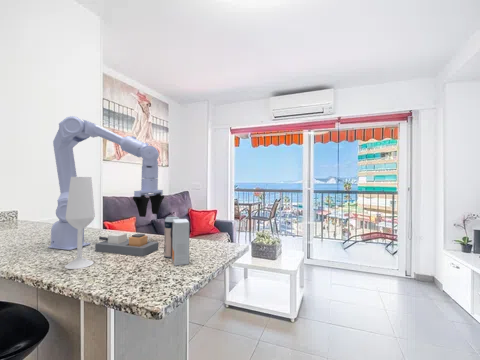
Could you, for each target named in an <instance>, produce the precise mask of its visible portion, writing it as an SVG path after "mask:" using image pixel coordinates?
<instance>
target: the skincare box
mask: <svg viewBox="0 0 480 360" xmlns="http://www.w3.org/2000/svg"><path fill="white" fill-rule="evenodd" d="M171 259H172V261H173V265H174V266H182V265H183V266H186V265H190V221H189V220H188V219H187V218H179V219H173V238H172V258H171Z"/></svg>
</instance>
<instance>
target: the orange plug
mask: <svg viewBox="0 0 480 360" xmlns="http://www.w3.org/2000/svg"><path fill="white" fill-rule="evenodd" d="M148 237H149V236H148V235H146V234H145V233H135V234H132V235H131V236H129V237H128V239H129V246H138V247H140V246H143V245H145V244H147V241H149V240H148Z"/></svg>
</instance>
